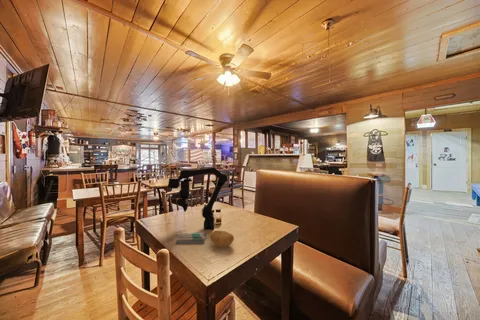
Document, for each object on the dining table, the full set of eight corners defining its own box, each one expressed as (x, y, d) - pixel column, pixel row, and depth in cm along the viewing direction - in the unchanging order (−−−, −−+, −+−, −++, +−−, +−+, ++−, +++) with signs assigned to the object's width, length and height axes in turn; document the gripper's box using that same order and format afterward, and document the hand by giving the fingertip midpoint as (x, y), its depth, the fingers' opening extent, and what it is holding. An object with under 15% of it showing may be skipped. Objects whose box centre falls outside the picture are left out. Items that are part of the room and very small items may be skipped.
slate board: (207, 235, 115) (207, 231, 115) (204, 244, 104) (204, 240, 104) (181, 235, 114) (181, 231, 114) (175, 244, 103) (175, 240, 103)
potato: (216, 239, 109) (216, 226, 109) (236, 245, 103) (237, 231, 102) (205, 247, 101) (205, 232, 100) (227, 253, 94) (227, 238, 94)
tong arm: (204, 235, 108) (204, 231, 108) (204, 237, 106) (204, 233, 106) (178, 235, 108) (178, 231, 108) (177, 237, 106) (177, 233, 106)
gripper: (177, 185, 132) (177, 207, 133) (167, 191, 113) (167, 216, 114) (192, 185, 132) (192, 207, 133) (186, 191, 114) (186, 216, 114)
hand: (185, 211), depth 123 cm, fingers closed
